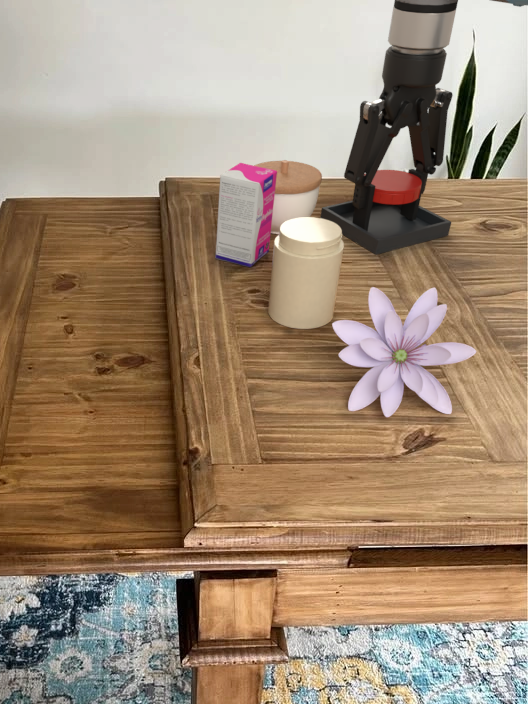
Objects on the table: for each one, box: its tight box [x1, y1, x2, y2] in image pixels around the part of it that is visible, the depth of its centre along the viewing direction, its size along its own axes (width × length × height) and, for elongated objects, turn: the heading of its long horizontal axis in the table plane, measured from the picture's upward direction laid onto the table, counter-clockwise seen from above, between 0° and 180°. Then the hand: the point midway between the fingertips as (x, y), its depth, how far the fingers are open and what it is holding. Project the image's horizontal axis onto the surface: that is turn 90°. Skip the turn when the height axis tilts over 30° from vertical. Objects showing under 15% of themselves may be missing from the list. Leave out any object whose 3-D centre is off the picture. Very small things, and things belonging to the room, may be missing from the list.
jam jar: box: [267, 216, 345, 330], centre depth 87 cm, size 8×8×11 cm
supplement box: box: [214, 162, 277, 268], centre depth 98 cm, size 6×6×12 cm
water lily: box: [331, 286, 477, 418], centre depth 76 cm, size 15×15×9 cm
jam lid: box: [364, 169, 422, 205], centre depth 104 cm, size 8×8×2 cm
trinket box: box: [253, 159, 323, 235], centre depth 106 cm, size 11×11×9 cm
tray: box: [320, 200, 452, 255], centre depth 108 cm, size 13×13×2 cm
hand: (384, 222), depth 108 cm, fingers closed on jam lid, 8 cm apart
